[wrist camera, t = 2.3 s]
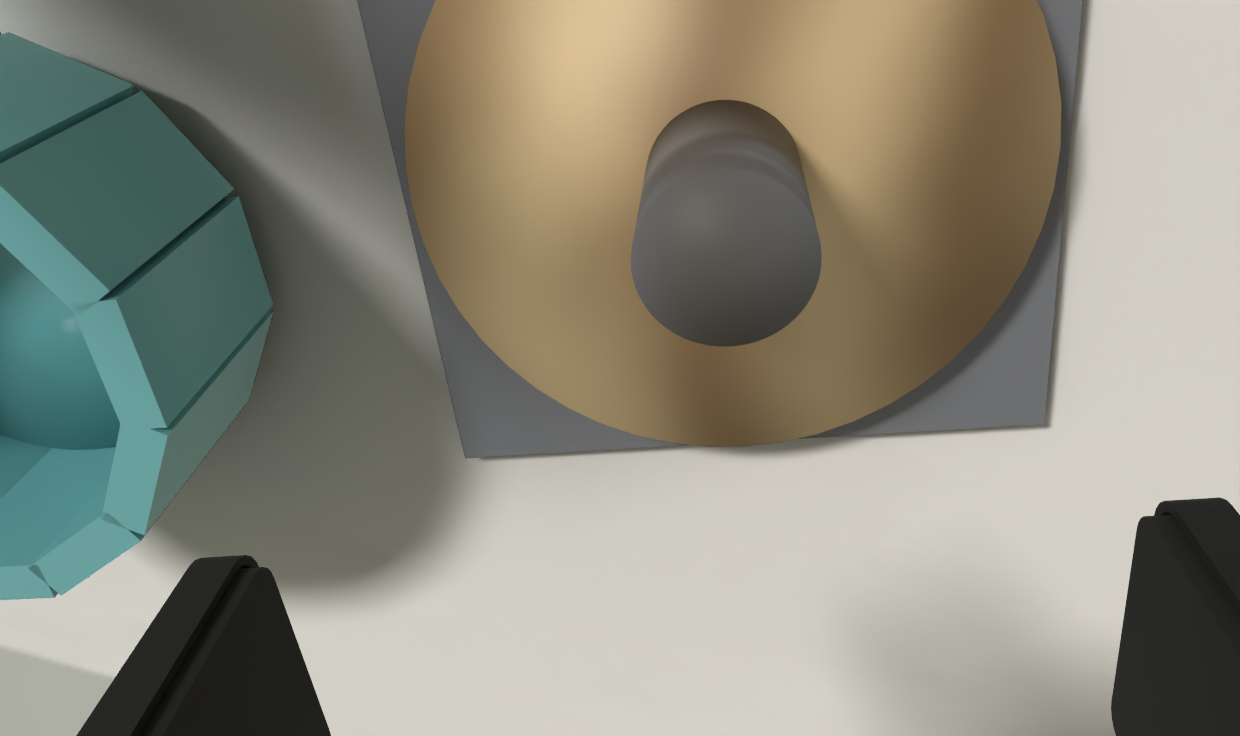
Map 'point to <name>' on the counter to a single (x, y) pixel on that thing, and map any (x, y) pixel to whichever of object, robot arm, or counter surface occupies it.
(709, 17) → the lid
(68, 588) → the bowl
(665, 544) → the counter surface
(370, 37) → the mat
